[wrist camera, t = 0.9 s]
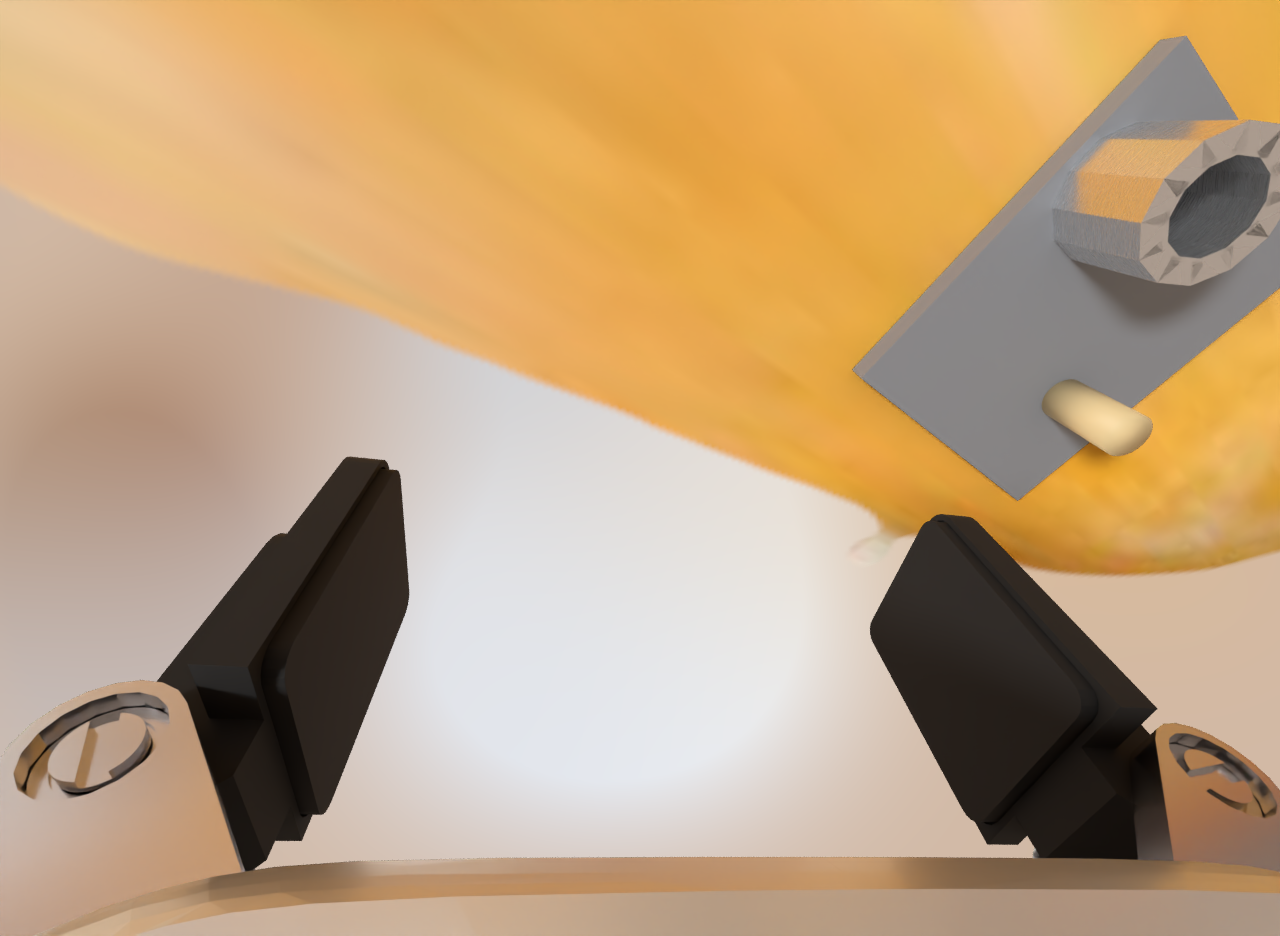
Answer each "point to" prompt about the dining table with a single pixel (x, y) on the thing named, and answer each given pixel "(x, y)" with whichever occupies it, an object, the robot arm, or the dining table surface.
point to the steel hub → (1172, 198)
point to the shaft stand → (1061, 313)
